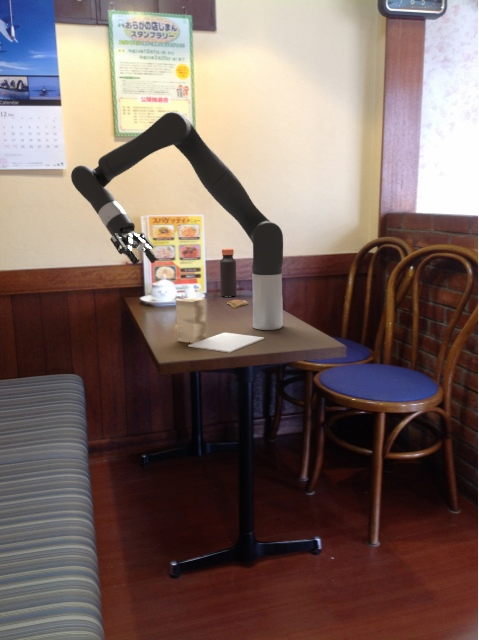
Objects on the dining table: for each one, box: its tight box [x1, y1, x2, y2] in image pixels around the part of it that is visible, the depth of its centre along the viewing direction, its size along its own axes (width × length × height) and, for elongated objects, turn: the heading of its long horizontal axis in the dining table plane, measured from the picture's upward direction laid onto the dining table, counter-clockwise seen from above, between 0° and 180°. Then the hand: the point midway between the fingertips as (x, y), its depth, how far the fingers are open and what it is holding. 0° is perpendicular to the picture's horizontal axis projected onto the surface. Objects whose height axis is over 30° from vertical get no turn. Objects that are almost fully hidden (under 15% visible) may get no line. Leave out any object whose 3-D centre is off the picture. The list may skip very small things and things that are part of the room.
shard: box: [226, 299, 249, 309], centre depth 222 cm, size 11×8×2 cm
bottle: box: [219, 248, 238, 297], centre depth 242 cm, size 7×7×20 cm
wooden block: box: [175, 296, 207, 344], centre depth 166 cm, size 6×6×12 cm
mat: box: [187, 332, 265, 354], centre depth 162 cm, size 18×14×1 cm
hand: (146, 262), depth 169 cm, fingers open, 8 cm apart
